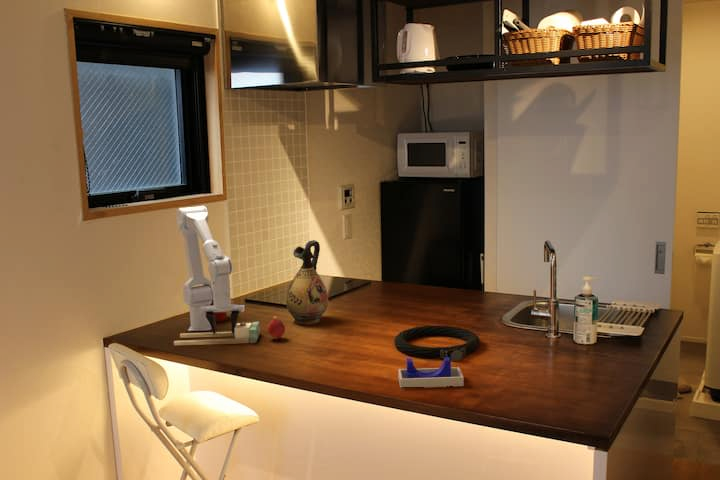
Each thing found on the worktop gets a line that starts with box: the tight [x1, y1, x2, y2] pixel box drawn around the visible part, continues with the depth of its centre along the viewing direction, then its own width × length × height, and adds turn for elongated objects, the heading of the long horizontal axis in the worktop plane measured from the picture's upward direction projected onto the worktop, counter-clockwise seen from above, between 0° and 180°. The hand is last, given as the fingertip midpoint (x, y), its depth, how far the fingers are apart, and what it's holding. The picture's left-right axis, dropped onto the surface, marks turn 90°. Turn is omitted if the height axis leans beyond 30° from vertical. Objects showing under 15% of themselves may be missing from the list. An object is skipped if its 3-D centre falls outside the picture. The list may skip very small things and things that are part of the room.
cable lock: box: [393, 325, 481, 362], centre depth 228 cm, size 28×4×30 cm
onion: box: [267, 316, 286, 341], centre depth 241 cm, size 6×6×8 cm
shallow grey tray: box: [397, 366, 465, 389], centre depth 197 cm, size 8×17×2 cm, turn 91°
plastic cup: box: [210, 287, 232, 322], centre depth 268 cm, size 11×11×12 cm
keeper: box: [234, 321, 253, 339], centre depth 243 cm, size 6×5×5 cm
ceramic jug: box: [285, 239, 329, 326], centre depth 261 cm, size 17×15×30 cm
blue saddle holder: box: [406, 357, 452, 379], centre depth 198 cm, size 12×4×6 cm, turn 91°
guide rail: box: [173, 321, 261, 346], centre depth 243 cm, size 10×27×4 cm, turn 91°
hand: (224, 332), depth 243 cm, fingers open, 6 cm apart
